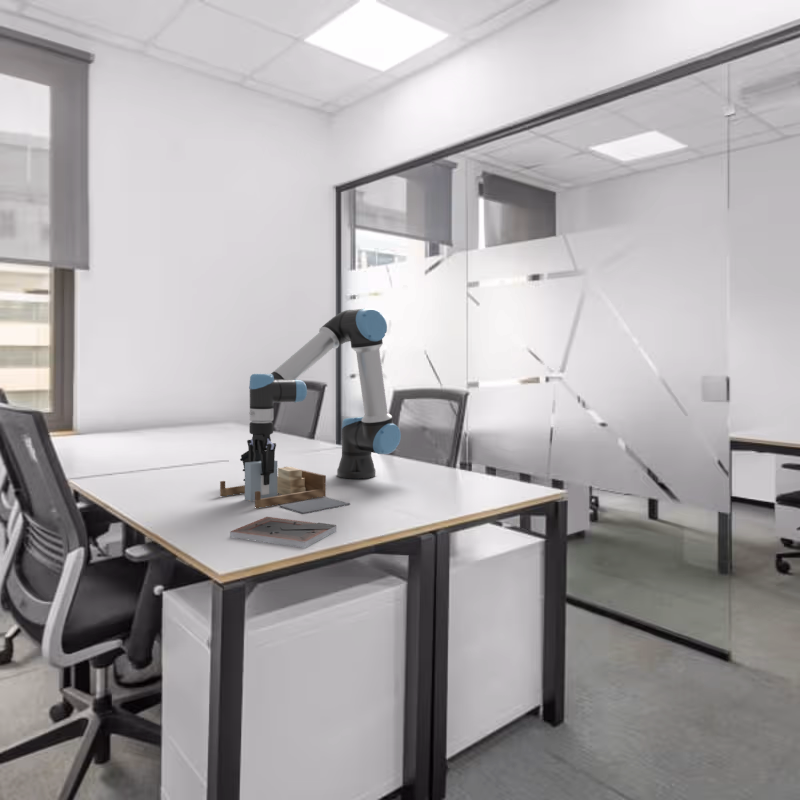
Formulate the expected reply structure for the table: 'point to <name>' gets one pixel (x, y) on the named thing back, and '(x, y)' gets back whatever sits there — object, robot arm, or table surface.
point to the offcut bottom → (288, 491)
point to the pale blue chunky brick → (258, 480)
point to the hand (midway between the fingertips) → (261, 493)
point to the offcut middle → (290, 483)
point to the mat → (314, 505)
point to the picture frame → (284, 531)
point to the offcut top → (290, 473)
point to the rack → (313, 486)
